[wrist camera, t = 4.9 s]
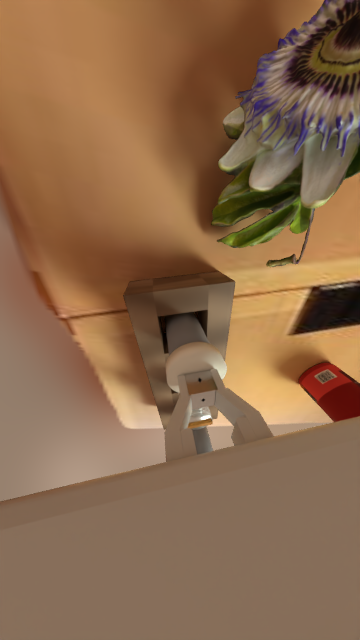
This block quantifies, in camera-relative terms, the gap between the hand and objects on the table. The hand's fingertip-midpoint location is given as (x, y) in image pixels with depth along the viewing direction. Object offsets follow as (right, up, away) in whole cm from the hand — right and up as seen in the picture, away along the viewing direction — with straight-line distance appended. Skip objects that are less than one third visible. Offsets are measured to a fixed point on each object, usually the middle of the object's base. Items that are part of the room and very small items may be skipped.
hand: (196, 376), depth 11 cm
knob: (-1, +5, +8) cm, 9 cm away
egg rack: (-1, -2, +12) cm, 12 cm away
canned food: (+29, -8, +21) cm, 37 cm away
